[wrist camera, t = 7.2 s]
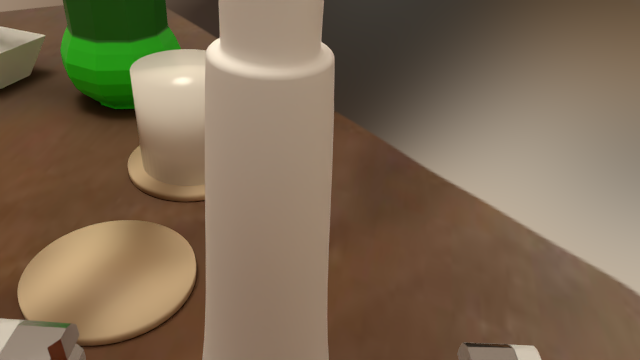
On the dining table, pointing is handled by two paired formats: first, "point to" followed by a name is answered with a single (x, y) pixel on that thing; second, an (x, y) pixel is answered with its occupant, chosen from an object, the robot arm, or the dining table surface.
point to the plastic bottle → (112, 45)
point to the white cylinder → (171, 115)
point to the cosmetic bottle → (268, 181)
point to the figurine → (17, 54)
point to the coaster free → (109, 280)
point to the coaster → (161, 183)
